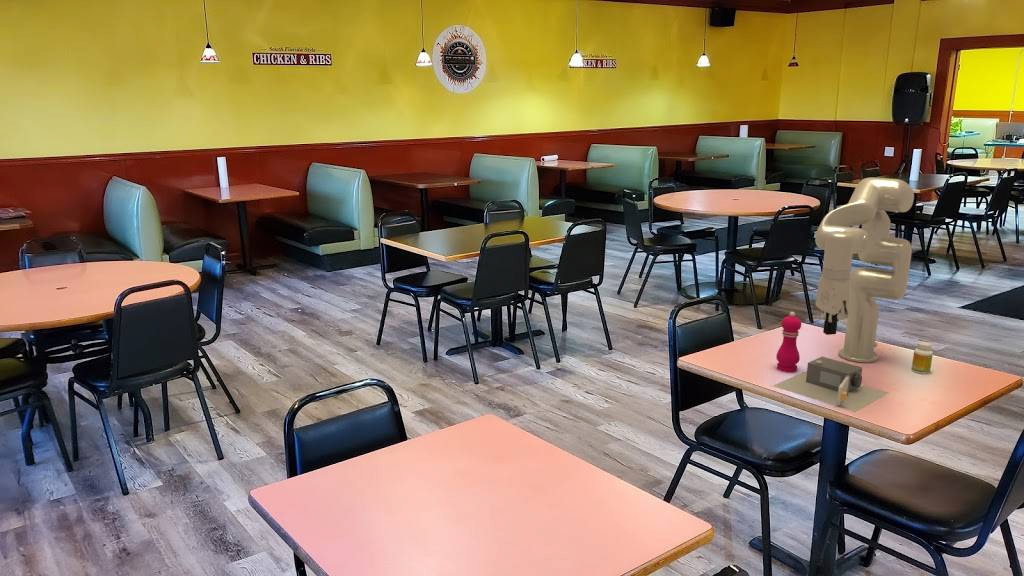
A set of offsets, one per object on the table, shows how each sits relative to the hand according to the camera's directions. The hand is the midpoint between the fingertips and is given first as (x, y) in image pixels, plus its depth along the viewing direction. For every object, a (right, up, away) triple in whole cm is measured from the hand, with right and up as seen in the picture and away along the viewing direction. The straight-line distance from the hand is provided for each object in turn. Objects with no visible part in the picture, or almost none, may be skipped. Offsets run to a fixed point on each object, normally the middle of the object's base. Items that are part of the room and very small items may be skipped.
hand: (829, 333), depth 226 cm
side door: (+4, -20, -1) cm, 20 cm away
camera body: (+6, -17, +12) cm, 21 cm away
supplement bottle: (+40, -14, +25) cm, 49 cm away
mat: (+3, -18, +8) cm, 20 cm away
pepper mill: (-4, -14, +25) cm, 29 cm away
